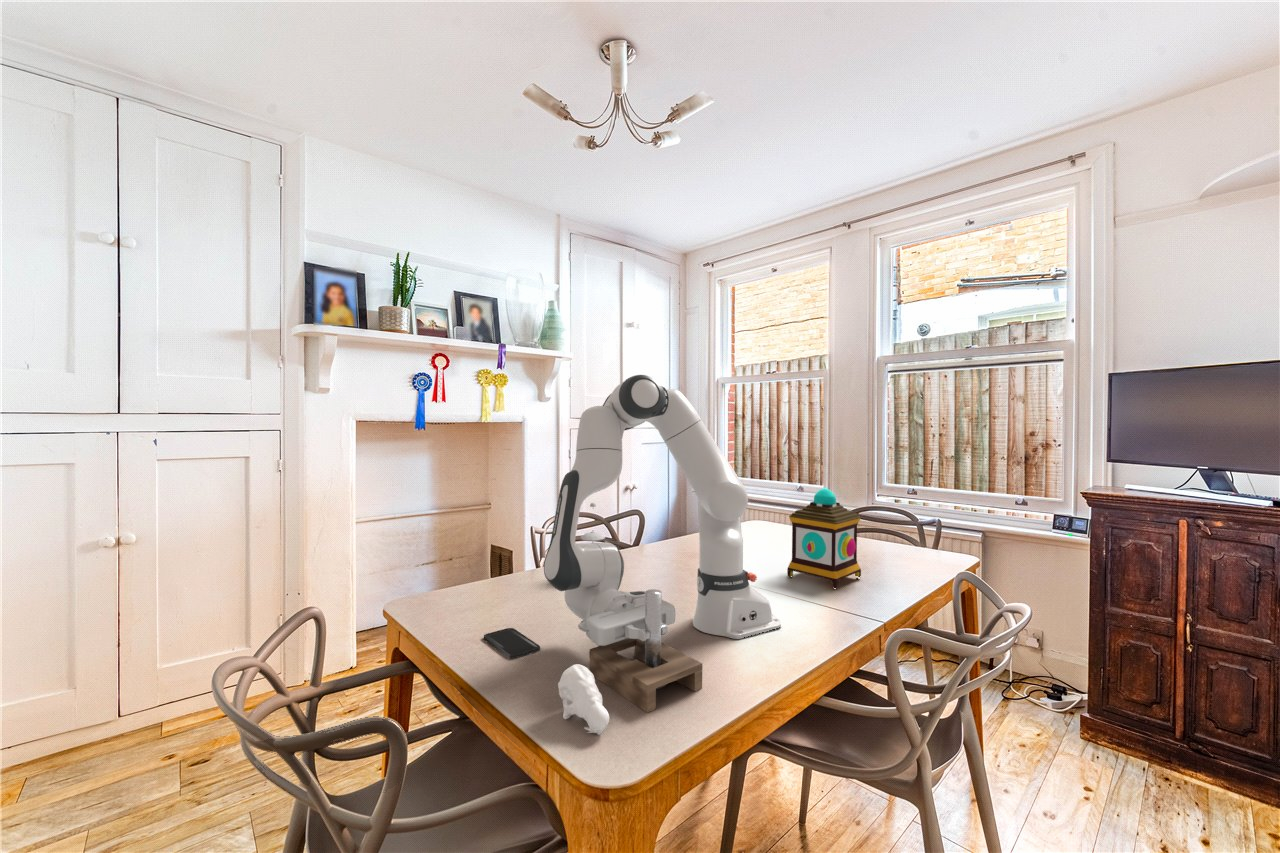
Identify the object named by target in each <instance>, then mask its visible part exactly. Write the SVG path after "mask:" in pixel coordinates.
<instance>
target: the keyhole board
mask: <svg viewBox="0 0 1280 853" xmlns="http://www.w3.org/2000/svg"><path fill="white" fill-rule="evenodd" d="M630 648H634V658H635V659H633V660H630V659H628V658H627V657H625V656H623V655H621V654H620V653H619V652H621V651H624V650H628V649H630ZM588 653H589V654H588V655H589V656H588V657H589V660H588V661H589V667H588V669H589V671H590V672H591V673H593V675H594V678H596V679H597V680H599V681H601V682H602V683H603V684H605V685H606V686H608V687H609V688H611V689H612V690H613V691H615V692H617V693H618V694H619V695H621V696H622V697H624V698H625V699H627V700H628V701H629V702H631V703H632V704H634V705H636V706H637V707H638V708H640V709H641V710H643V711H644V712H645V713H649V712H652V711H654V710H656V708H657V689H656V688H658V687H661V686H663V685H668V684H669V683H673V682H677V683H680V684H681V685H683V686H684V685H685V687H686V688H688V689H690V690H691V691H693V692H697V691H700V690H702V689H703V662H701V661H699V660H697V659H695V658H693V657H691V656H689V655H687V654H686V653H683V652H681V651H679V650H677V649H676V648H674V647H671V646H669V645H667V644H666V643H663V642H662V641H661V665H660V666H658V667H655V668H651V667H649V666H648V665H646V664H645V641H642V640H640V639H631V638H627V639H624V640H621V641H618V642H615V643H612V644H609V645H606V646H600V645H597V646H595V647H592V648H589V652H588ZM701 688H702V689H701ZM699 689H700V690H699Z"/></svg>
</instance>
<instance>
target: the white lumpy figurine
mask: <svg viewBox="0 0 1280 853" xmlns="http://www.w3.org/2000/svg"><path fill="white" fill-rule="evenodd" d="M557 686H558V695H559V696H560V698H561V700H562V706H563V714H562V717H563V720H569V718H570V717H571V716H574V715H576V716H577V717H578V718H581V719H583V720H584V721H586V723H587V725H588V726H584V728H583V729H584V730H586V731H588V732H586V734H587V733H588V734H591V733H592V734H597V735H598V736H599V735H601V734H602V732H603V731H604V730H605V729H606V728H607V727H608V725H609V722H610V714H609V712H608V710H607V709H606V708H605V706H604V705H603V695H602V692H600V690H599V688H598V686H597V684H596V679H595V676H594V675H593V673H591V672H590V671H589V667H586V666H585V665H582V664H577V663H575V664H572V665H571V666H570V667H568V668H567V669H565V670H564V671H563V673H562V674H561V676H560V680H559V682H558V683H557Z"/></svg>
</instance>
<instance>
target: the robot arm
mask: <svg viewBox="0 0 1280 853" xmlns="http://www.w3.org/2000/svg"><path fill="white" fill-rule="evenodd" d="M645 422H647V423H650V424H651V425H652V426H654V428H655V429H656V430H657V432H659V435H660V436H661V438H662V440H663V442H664V443H665V445H666V447H667V449H668V450H669V452H670V453H671V455H672V456H673V459H674V460H675V462H676V463H677V465H678V466H679V469H680V470H681V472H682V473H683V475H684V476H685V478H686V480H687V482H688V484H689V485H690V486H691V488H692V490H693V492H694V493H695V495H696V496H697V515H698V516H697V517H698V534H699V535H698V536H699V549H698V550H699V558H698V559H699V560H698V564H699V565H698V566H699V567H698V569H697V577H696V578H697V579H696V581H697V582H696V584H697V585H696V586H697V601H696V608H695V612H694V616H693V619H692V623H691V624H692V626H693V627H694V628H695V629H696V630H698V631H699V632H702V633H706V634H708V635H709V634H710V635H714V636H722V637H727V638H729V639H732V640H733V639H734V640H741V639H745V638H748V636H749V637H752V636H756V635H759V633H760V634H763V633H762V632H764V633H766V632H765V631H768V630H772V629H775V628H779V627H781V628H782V623H781V621H780V619H779V618H778V617H777V616H775V615H774V614H773V613H772V608H771V604H770V602H769V600H768V598H767V597H766V596H765V595H763V594H762V593H761V592H759V591H758V590H757V589H756V588H755V587H753V586H752V585H751V584H750V582H751V583H755V582H756V581H757V579H758V577H757V575H756V573H753V572H749V571H747V570H745V569H744V568H743V567H744V538H743V533H742V523H741V522H742V521H741V520H742V519H741V517H742V516H743V515H744V514H745V512H746V510H747V508H748V502H749V497H748V492H747V489H746V487H745V486H744V484H743V482H742V481H741V479H740V477H739V476H738V475H737V473H736V471H735V469H734V468H733V467H732V465H731V464H730V462H729V460H728V459H727V457H726V456H725V455H724V453H723V452H722V450H721V449H720V447H719V446H718V444H717V443H716V441H715V439H714V438H713V436H712V434H711V433H710V431H709V430H708V427H707V426H706V425H705V422H703V419H701V417H700V415H699V412H697V410H696V409H695V408H694V406H693V405H692V403H691V402H690V401H689V399H688V398H687V397H686V396H685V395H684V394H683V393H682V392H681V391H680V390H678V389H675V388H668V389H667V388H666V387H664V386H662V385H661V384H660V383H659V382H658V381H657V379H654V378H653V377H651V376H649V375H646V374H637V375H632V376H630V377H628V378H627V379H625V380H624V381H622V382H621V383H620V384H618V385H617V386H616V387H615V388H614V390H613V391H612V392H611V393H610V394H609V395H608V396H607V397H606V399H605V401H604V402H603V403H602V405H594V406H591V407H588V408H587V409H585V410H584V411H583V412H582V413H581V416H580V420H579V422H578V429H577V435H576V436H577V437H576V438H577V439H576V445H575V446H576V447H575V448H576V450H575V459H574V464H573V466H572V469H571V470H570V471H569V472H566V474H565V475H564V476H563V479H562V481H561V485H560V489H559V493H558V497H557V498H558V499H557V502H556V503H557V504H556V510H555V514H554V520H553V521H554V522H553V525H552V526H553V527H552V531H551V532H552V533H551V537H550V541H549V545H548V549H547V551H546V554H545V557H544V558H545V559H544V562H543V574H544V577H545V579H546V580H547V581H548V583H549V584H550V585H551V586H552V587H553V588H554V589H555V590H557V591H559V592H564V601H565V603H566V606H567V608H568V609H569V611H571V613H573V614H574V615H575V616H577V618H579V619H580V620H581V621H580V623H578V624H577V627H578V629H579V630H580V631H582V632H585V634H586V637H587V638H588V639H589V640H590V641H591V642H592V643H594V644H596V645H597V646H606V645H609V644H612V643H615V642H618V641H621V640H624V639H627V638H631V639H640V640H642V641H646V640H649V639H650V631H649V630H647V629H645V592H646V591H647V590H639V591H623V590H619V589H620V587H621V583H622V581H623V577H624V571H625V561H624V558H623V555H622V553H621V550H619V548H618V547H617V546H616V544H614V543H612V542H609V541H608V543H604V542H587V543H586V542H584V543H583V542H581V543H577V542H576V536H577V535H576V534H577V529H578V523H579V517H580V511H581V506H582V504H583V503H584V501H585V500H586V499H587V498H589V497H590V496H591V495H593V494H596V493H598V492H601V491H603V490H605V489H607V488H609V487H610V486H612V485H613V484H614V483H616V481H617V480H618V478H620V475H621V473H622V469H623V437H624V432H625V431H628V430H631V429H634V428H635V427H637V426H640V425H642V424H644V423H645ZM676 612H677V611H676V607H675V605H674V604H672V603H671V602H668V601H667V600H664V599H662V611H661V636H664V635H667V634H668V629H669V628H668V626H670V625H674V624H675V623H676V618H677V617H676ZM779 629H780V628H779ZM775 630H776V629H775ZM772 631H773V630H772ZM768 632H769V631H768ZM755 634H756V635H755ZM751 635H752V636H751ZM744 637H745V638H744Z"/></svg>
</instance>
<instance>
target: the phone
mask: <svg viewBox="0 0 1280 853" xmlns="http://www.w3.org/2000/svg"><path fill="white" fill-rule="evenodd" d="M483 640H484V641H485V640H486V641H487V642H486V641H485V642H486V643H487V644H489V645H490V646H491V647H493V648H494V649H495V648H496V649H495V650H496V651H498V652H499V653H500V654H501V655H503V656H504V657H505V658H507V659H508V658H509V660H515V659H519V658H522V657H525V656H529V655H532V654H536V653H538V652H539V651H540V650H541V646H540V645H539V644H538V643H536V642H535V641H533V640H532V639H530V638H529V637H528V636H526V635H525V634H523V633H522V632H520V631H518V630H517V629H515V628H513V627H507V628H504V629H500V630H495V631H493V632H489V633H485V634H484V635H483Z"/></svg>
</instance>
